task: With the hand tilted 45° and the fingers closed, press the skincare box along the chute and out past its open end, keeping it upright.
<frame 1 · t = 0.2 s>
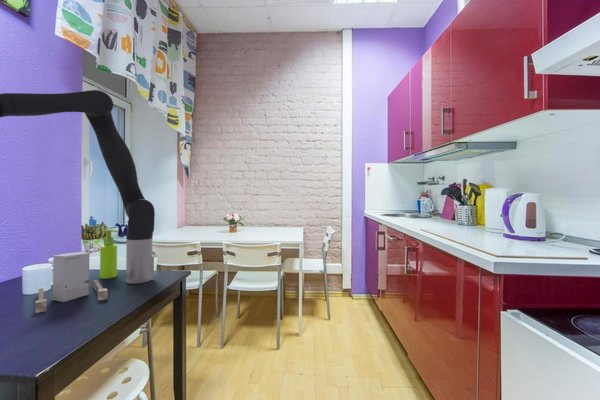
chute: (71, 297, 96), on the table
soap dispenser: (109, 277, 120), on the table
skincare box: (71, 297, 96), on the table
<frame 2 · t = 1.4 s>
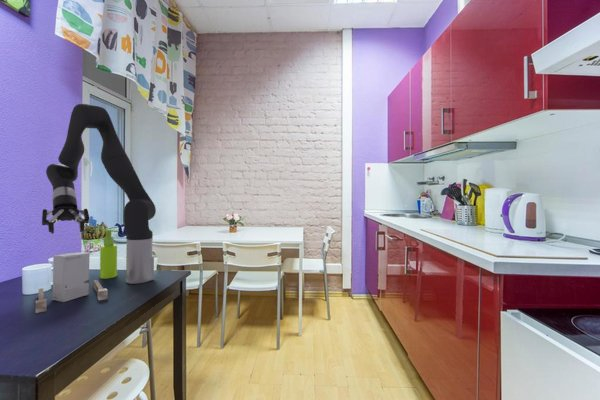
hand: (67, 231, 107), 21 cm above the table, tool tilted 45°, fingers open, 8 cm apart
nothing on the table moved.
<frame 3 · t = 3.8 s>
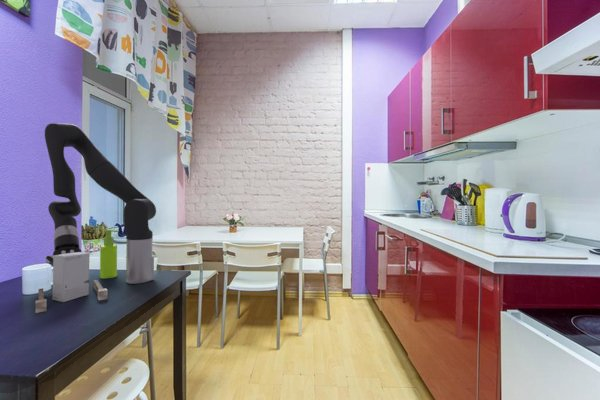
hand: (68, 276, 104), 4 cm above the table, tool tilted 45°, fingers closed
nothing on the table moved.
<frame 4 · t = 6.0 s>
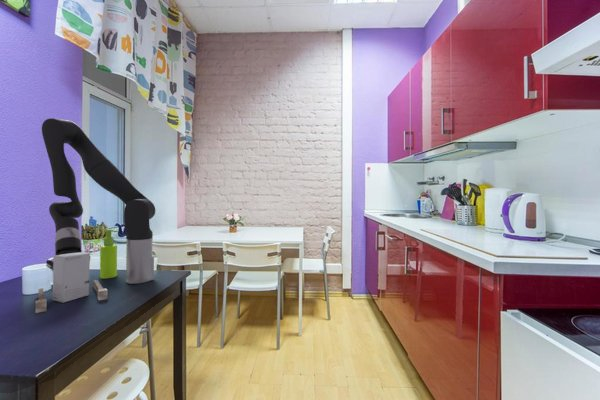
hand: (70, 282, 98), 4 cm above the table, tool tilted 45°, fingers closed
skincare box: (71, 298, 95), on the table, touching gripper
everything else where it was.
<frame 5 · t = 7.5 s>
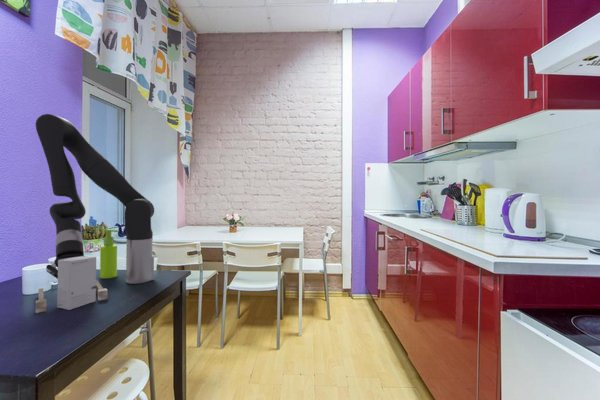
hand: (71, 288, 91), 4 cm above the table, tool tilted 45°, fingers closed
skincare box: (77, 305, 90), on the table, touching gripper
everything else where it was.
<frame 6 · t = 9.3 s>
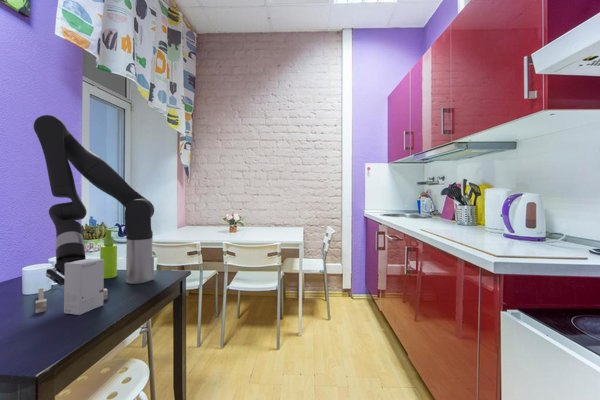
hand: (73, 294, 86), 4 cm above the table, tool tilted 45°, fingers closed
skincare box: (84, 309, 86), on the table, touching gripper
everything else where it was.
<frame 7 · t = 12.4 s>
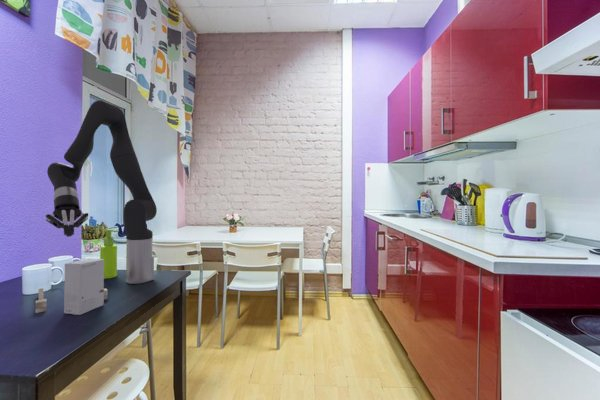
hand: (69, 235, 102), 20 cm above the table, tool tilted 45°, fingers closed
skincare box: (84, 309, 86), on the table
everything else where it was.
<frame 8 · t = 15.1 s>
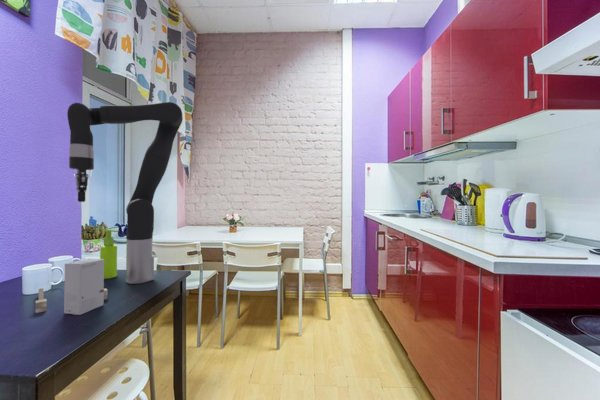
hand: (81, 201, 110), 32 cm above the table, tool pointing down, fingers closed
nothing on the table moved.
at the end: skincare box inside the target area (2.6 cm from its centre), on the table; skincare box tilted 0° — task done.
